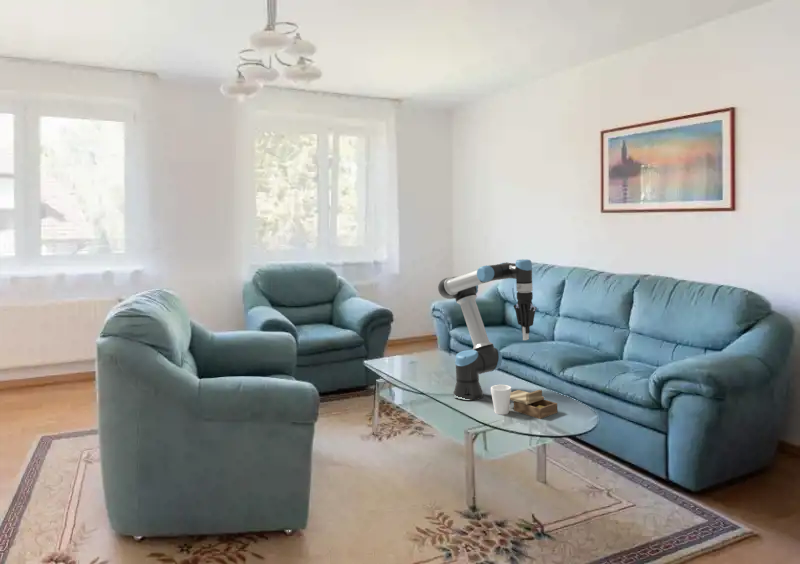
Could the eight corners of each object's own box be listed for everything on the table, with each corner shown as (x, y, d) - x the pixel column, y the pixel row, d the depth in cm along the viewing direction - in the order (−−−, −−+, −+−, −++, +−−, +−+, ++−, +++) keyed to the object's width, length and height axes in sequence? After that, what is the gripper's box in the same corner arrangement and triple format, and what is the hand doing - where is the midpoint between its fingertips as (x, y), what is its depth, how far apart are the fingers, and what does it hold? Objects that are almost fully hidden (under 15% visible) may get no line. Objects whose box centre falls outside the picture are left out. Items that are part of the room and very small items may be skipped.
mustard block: (535, 413, 278) (534, 407, 278) (539, 411, 281) (539, 405, 281) (544, 415, 275) (544, 409, 274) (549, 413, 278) (549, 407, 277)
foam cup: (498, 419, 277) (497, 391, 275) (487, 413, 285) (486, 386, 284) (515, 415, 281) (515, 388, 279) (504, 409, 289) (503, 383, 287)
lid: (501, 397, 290) (501, 388, 289) (518, 391, 297) (518, 382, 296) (526, 404, 277) (526, 395, 276) (544, 398, 284) (543, 389, 283)
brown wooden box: (513, 412, 284) (513, 401, 284) (531, 406, 291) (530, 395, 291) (540, 421, 271) (539, 409, 271) (557, 414, 278) (557, 403, 278)
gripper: (509, 291, 292) (510, 339, 295) (529, 293, 281) (530, 343, 284) (519, 289, 296) (521, 336, 299) (540, 291, 286) (541, 340, 289)
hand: (525, 339), depth 292 cm, fingers closed
